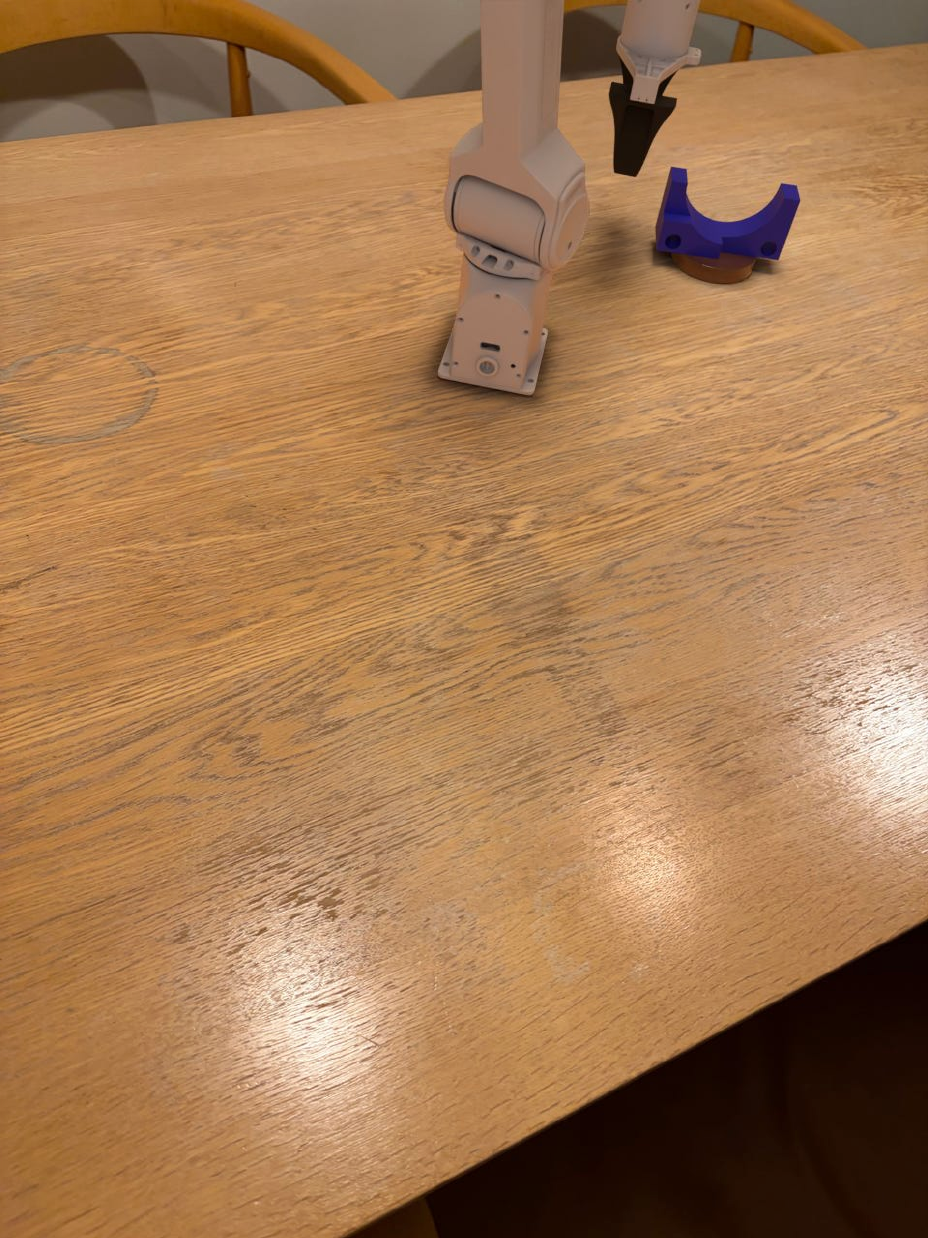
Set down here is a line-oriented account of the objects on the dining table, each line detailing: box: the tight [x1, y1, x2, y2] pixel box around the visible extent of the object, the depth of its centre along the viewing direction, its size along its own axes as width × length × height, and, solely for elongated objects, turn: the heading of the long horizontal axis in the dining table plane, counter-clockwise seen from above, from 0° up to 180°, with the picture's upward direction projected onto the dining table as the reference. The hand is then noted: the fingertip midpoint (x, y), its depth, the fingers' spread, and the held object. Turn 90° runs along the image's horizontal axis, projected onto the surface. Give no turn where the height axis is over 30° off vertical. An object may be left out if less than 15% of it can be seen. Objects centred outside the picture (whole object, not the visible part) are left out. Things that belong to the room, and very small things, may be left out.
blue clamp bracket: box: [654, 166, 802, 261], centre depth 94 cm, size 12×4×6 cm, turn 84°
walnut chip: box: [670, 252, 757, 285], centre depth 97 cm, size 8×8×2 cm
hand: (628, 154), depth 89 cm, fingers open, 7 cm apart
